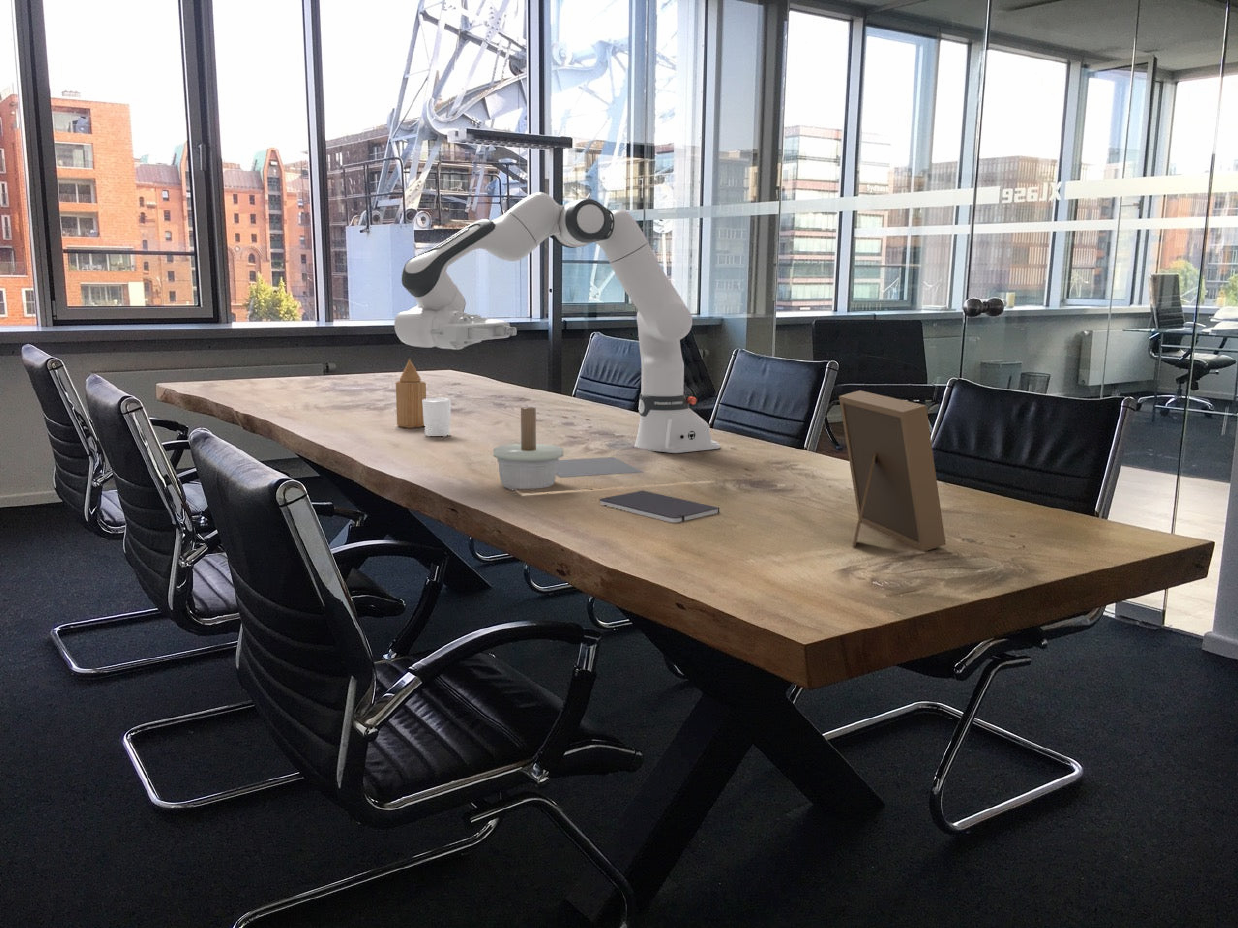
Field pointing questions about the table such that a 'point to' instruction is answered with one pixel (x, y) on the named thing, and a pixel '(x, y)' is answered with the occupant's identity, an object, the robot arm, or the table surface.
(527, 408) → the lid
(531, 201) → the robot arm
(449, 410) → the white cup
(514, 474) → the ramekin
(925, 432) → the photo frame
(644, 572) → the table surface
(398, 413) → the decorative item
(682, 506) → the notebook
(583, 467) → the mat
